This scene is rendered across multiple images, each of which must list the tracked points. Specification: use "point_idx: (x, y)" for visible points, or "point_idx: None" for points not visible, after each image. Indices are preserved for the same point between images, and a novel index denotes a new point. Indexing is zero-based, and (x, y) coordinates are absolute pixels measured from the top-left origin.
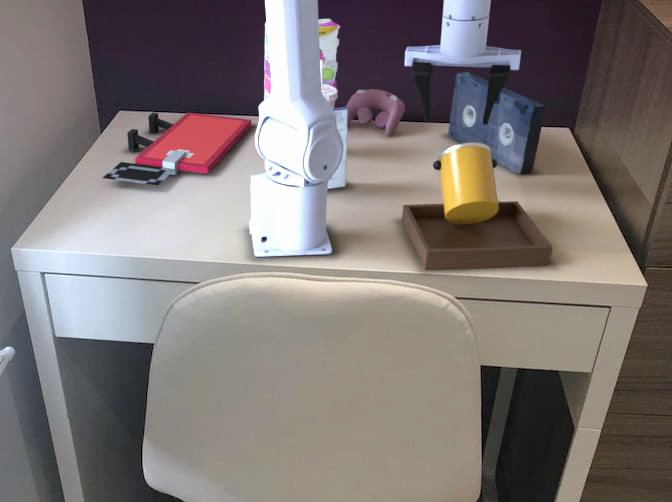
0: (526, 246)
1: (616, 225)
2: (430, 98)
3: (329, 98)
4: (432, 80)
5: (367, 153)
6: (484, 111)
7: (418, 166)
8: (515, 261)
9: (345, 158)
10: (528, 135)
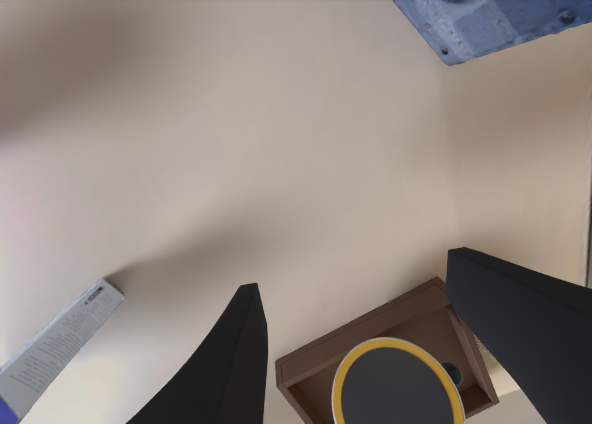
0: (466, 415)
1: (587, 232)
2: (253, 379)
3: None
4: (230, 414)
5: (54, 75)
6: (480, 337)
7: (216, 112)
8: None
9: (88, 339)
10: (535, 37)
